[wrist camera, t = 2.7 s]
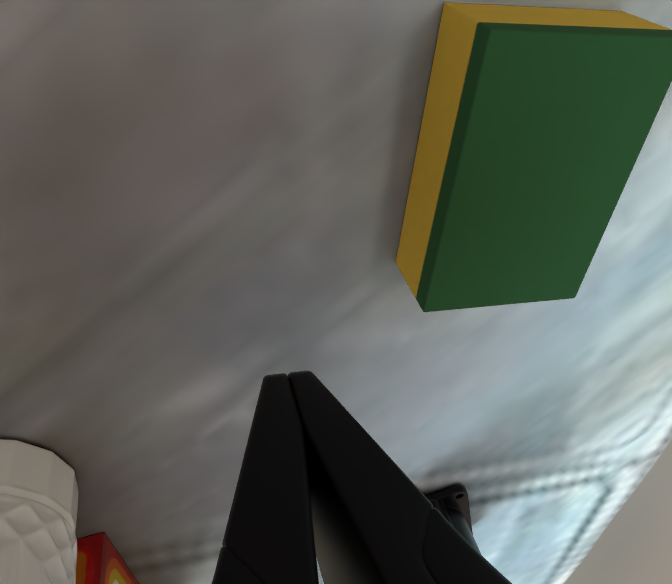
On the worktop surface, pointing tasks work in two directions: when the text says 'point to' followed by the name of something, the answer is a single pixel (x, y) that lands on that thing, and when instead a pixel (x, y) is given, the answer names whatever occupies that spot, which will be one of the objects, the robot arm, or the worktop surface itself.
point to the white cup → (36, 516)
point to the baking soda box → (100, 562)
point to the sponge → (525, 149)
